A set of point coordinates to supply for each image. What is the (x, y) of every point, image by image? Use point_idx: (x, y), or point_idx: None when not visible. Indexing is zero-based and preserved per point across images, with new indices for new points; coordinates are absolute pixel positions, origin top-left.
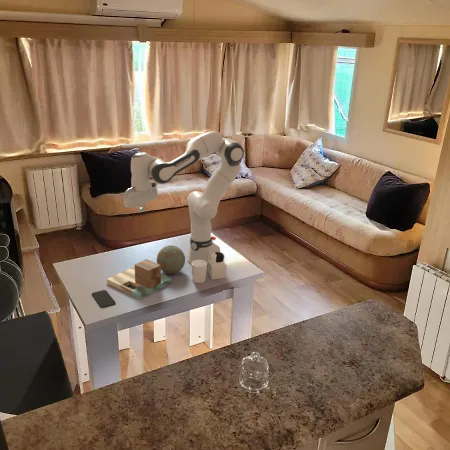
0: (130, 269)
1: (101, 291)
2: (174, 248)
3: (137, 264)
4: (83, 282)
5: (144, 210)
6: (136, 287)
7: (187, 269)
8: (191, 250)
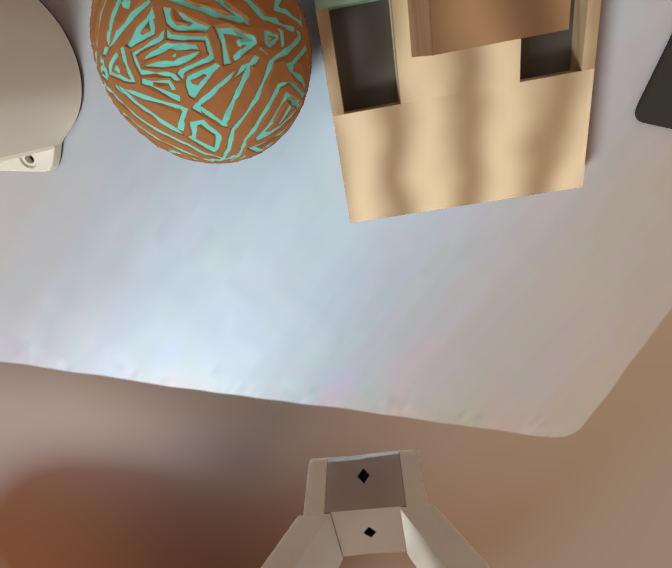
0: (422, 199)
1: (662, 114)
2: (153, 10)
3: (554, 11)
4: (630, 256)
5: (310, 462)
6: None
7: None
8: (8, 86)
